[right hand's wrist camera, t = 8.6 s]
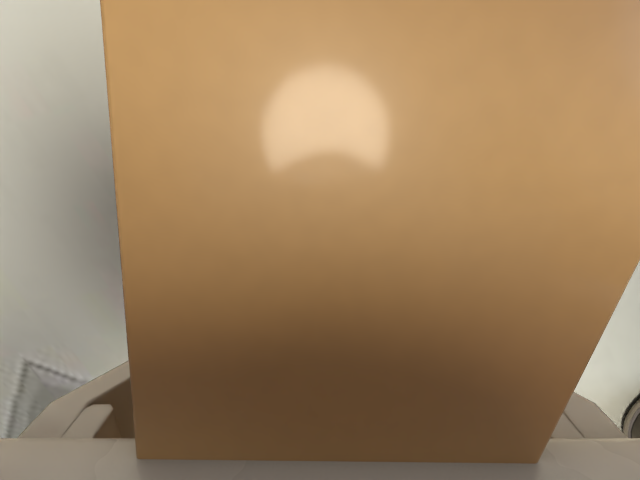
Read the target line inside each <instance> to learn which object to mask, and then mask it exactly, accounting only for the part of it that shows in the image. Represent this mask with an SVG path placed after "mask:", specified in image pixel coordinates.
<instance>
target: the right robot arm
mask: <svg viewBox="0 0 640 480" xmlns="http://www.w3.org/2000/svg"><path fill="white" fill-rule="evenodd" d="M0 480H640V438H627V436H626V435H625V434H624V433H623V432H622V431H621V430H620V429H619V428H618V427H617V426H616V425H615V424H614V423H613V422H612V421H611V420H610V419H609V418H608V417H607V415H606V414H605V413H604V412H603V411H602V410H601V409H600V408H599V407H598V406H597V405H596V404H595V403H593V402H591V401H590V400H588V399H586V398H584V397H582V396H580V395H578V394H577V393H575V392H573V394H572V396H571V398H570V400H569V402H568V404H567V405H566V407H565V409H564V411H563V413H562V415H561V417H560V419H559V421H558V423H557V425H556V427H555V429H554V431H553V433H552V435H551V437H550V439H549V441H548V443H547V445H546V447H545V449H544V451H543V453H542V455H541V457H540V459H539V461H538V463H536V464H525V463H435V462H345V461H255V460H165V459H138V458H136V445H135V432H134V420H133V407H132V395H131V382H130V370H129V361H127V362H125V363H123V364H121V365H119V366H118V367H116V368H114V369H112V370H110V371H108V372H106V373H105V374H103V375H101V376H99V377H97V378H95V379H94V380H92V381H90V382H88V383H86V384H84V385H82V386H81V387H79V388H77V389H75V390H73V391H71V392H69V393H68V394H66V395H64V396H62V397H60V398H58V399H56V400H55V401H53V402H51V403H50V404H49V405H48V406H47V407H46V408H45V409H44V410H43V411H42V412H41V413H40V414H39V415H38V416H37V417H36V418H35V420H34V421H33V422H32V423H31V424H30V425H29V426H28V427H27V428H26V429H25V430H24V431H23V432H22V433H21V434H20V435H19V437H18V438H0Z"/></svg>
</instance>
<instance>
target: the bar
mask: <svg viewBox="0 0 640 480" xmlns="http://www.w3.org/2000/svg"><path fill="white" fill-rule="evenodd" d="M100 5H101V17H102V30H103V42H104V55H105V68H106V80H107V93H108V105H109V118H110V130H111V143H112V156H113V168H114V181H115V193H116V206H117V219H118V231H119V244H120V256H121V269H122V281H123V294H124V307H125V319H126V332H127V344H128V357H129V370H130V382H131V395H132V407H133V420H134V432H135V445H136V458H138V459H165V460H255V461H345V462H435V463H525V464H536V463H538V461H539V459H540V457H541V455H542V453H543V451H544V449H545V447H546V445H547V443H548V441H549V439H550V437H551V435H552V433H553V431H554V429H555V427H556V425H557V423H558V421H559V419H560V417H561V415H562V413H563V411H564V409H565V407H566V405H567V404H568V402H569V400H570V398H571V396H572V394H573V392H574V390H575V388H576V386H577V384H578V382H579V380H580V378H581V376H582V374H583V372H584V370H585V368H586V366H587V364H588V362H589V360H590V358H591V356H592V354H593V352H594V350H595V348H596V346H597V344H598V342H599V340H600V338H601V336H602V334H603V332H604V330H605V328H606V326H607V324H608V322H609V320H610V318H611V316H612V314H613V312H614V310H615V308H616V306H617V304H618V302H619V300H620V298H621V296H622V294H623V292H624V290H625V288H626V286H627V284H628V282H629V280H630V278H631V276H632V274H633V272H634V270H635V268H636V266H637V264H638V262H639V260H640V0H100Z"/></svg>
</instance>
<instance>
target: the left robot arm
mask: <svg viewBox="0 0 640 480" xmlns="http://www.w3.org/2000/svg"><path fill="white" fill-rule="evenodd" d="M623 432H624V434H625V435H626V436H627V438H640V399H639V400H638V401H637V402H636V403H635V404H634V405H633V406H632V408H631V409H630V410H629V412H628V414H627V416H626V418H625V421H624V426H623Z"/></svg>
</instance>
